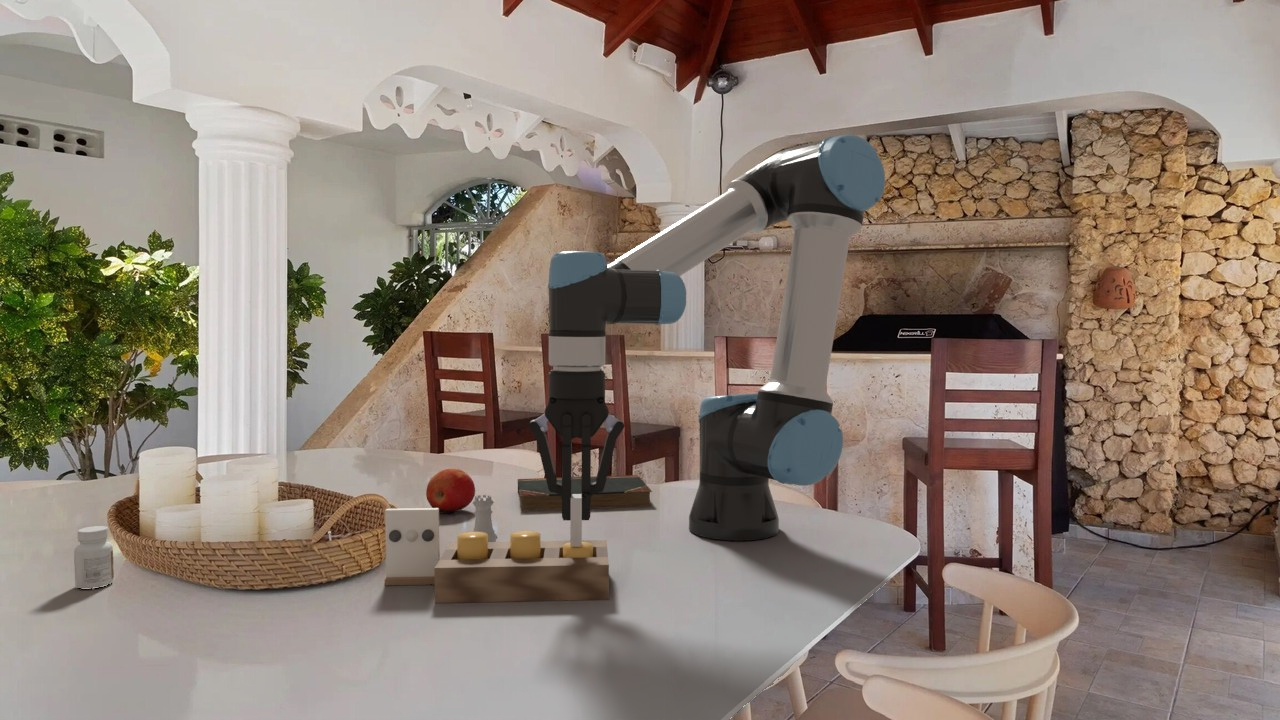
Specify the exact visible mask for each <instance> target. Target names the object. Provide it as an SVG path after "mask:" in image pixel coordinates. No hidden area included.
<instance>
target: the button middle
mask: <svg viewBox="0 0 1280 720" xmlns="http://www.w3.org/2000/svg"><path fill="white" fill-rule="evenodd" d="M509 537H510V538H509V539H510V541H509V542H510V558H511V559H524V558H541V546H540V541H541V533H540V532H538V531H535V530H534V531H532V530H522V531H521V530H520V531H515V532H513V533H511V534H510V536H509Z"/></svg>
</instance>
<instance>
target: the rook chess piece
mask: <svg viewBox="0 0 1280 720" xmlns="http://www.w3.org/2000/svg"><path fill="white" fill-rule="evenodd" d="M494 503H495V502H494V501H493V499H492V496H491V495H489V494H488V495H487V494H482V495H475V496H474V499H473V502H472V504H473V506H474V507H475V511H474V512H473V514H474V515H475V520H474V526H473V527H474V528H473V530H472V532H484V533H487V534H488V542H497V539H498V535H497V534H496V533H495V530H494V527H493V520H492V513H493V511H492V506H493V504H494Z"/></svg>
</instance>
